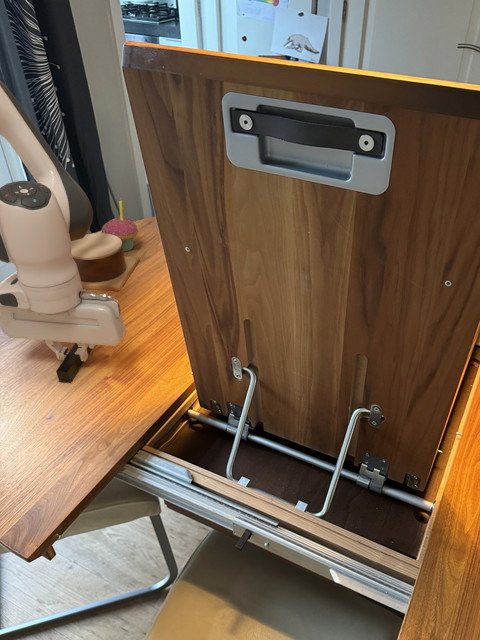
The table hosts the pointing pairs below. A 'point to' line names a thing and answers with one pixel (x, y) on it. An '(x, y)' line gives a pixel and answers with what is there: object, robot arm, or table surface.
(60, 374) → the knife
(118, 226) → the cupcake
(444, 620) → the table surface
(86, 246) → the cake
